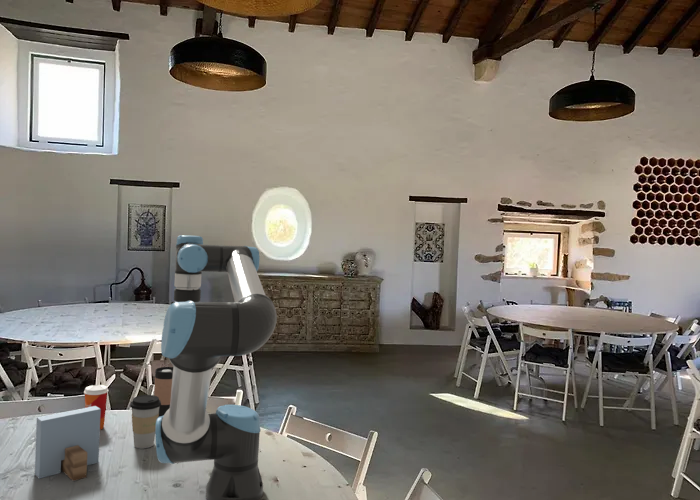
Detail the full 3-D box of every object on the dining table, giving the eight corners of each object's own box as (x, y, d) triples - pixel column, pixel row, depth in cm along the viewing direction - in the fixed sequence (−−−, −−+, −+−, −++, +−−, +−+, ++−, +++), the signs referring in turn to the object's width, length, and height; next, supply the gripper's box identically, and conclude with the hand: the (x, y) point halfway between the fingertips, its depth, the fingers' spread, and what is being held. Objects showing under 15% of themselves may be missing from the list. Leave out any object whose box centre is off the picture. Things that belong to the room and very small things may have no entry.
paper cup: (82, 425, 189) (84, 385, 189) (106, 423, 193) (108, 383, 192) (82, 433, 182) (83, 391, 182) (107, 431, 185) (109, 390, 185)
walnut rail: (86, 477, 152) (87, 452, 152) (73, 481, 150) (74, 455, 150) (61, 456, 165) (62, 433, 164) (49, 459, 162) (50, 435, 162)
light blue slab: (98, 462, 162) (100, 408, 161) (39, 478, 150) (41, 420, 149) (93, 458, 164) (95, 405, 164) (34, 474, 153) (36, 417, 152)
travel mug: (153, 422, 196) (155, 366, 195) (175, 421, 198) (178, 366, 197) (152, 430, 188) (154, 372, 188) (175, 429, 191) (178, 372, 190)
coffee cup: (148, 452, 171) (151, 405, 170) (121, 448, 173) (123, 401, 172) (165, 441, 180) (167, 396, 179) (139, 437, 182) (141, 392, 181)
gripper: (223, 292, 155) (219, 366, 156) (177, 282, 172) (174, 349, 173) (199, 294, 150) (196, 370, 151) (154, 283, 167) (151, 352, 168)
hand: (184, 359), depth 162 cm, fingers open, 13 cm apart
